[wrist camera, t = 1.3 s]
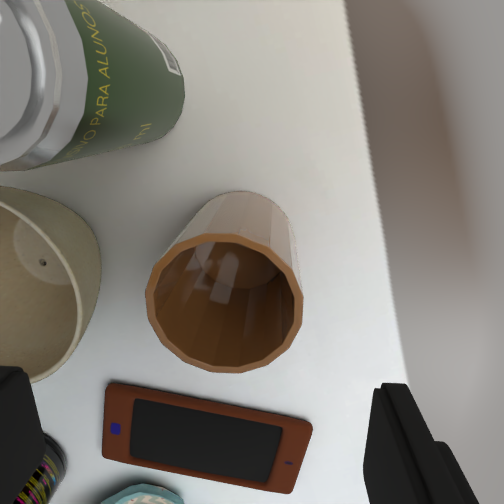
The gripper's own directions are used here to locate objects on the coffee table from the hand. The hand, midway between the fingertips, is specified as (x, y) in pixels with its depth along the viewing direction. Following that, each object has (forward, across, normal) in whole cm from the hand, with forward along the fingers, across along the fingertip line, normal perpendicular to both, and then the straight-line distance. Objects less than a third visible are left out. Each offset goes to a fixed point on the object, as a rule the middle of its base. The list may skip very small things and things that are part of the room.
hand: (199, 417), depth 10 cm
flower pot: (+13, +12, 0) cm, 18 cm away
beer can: (+13, +6, -9) cm, 17 cm away
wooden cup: (+13, 0, 0) cm, 13 cm away
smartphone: (+14, +3, +15) cm, 20 cm away
